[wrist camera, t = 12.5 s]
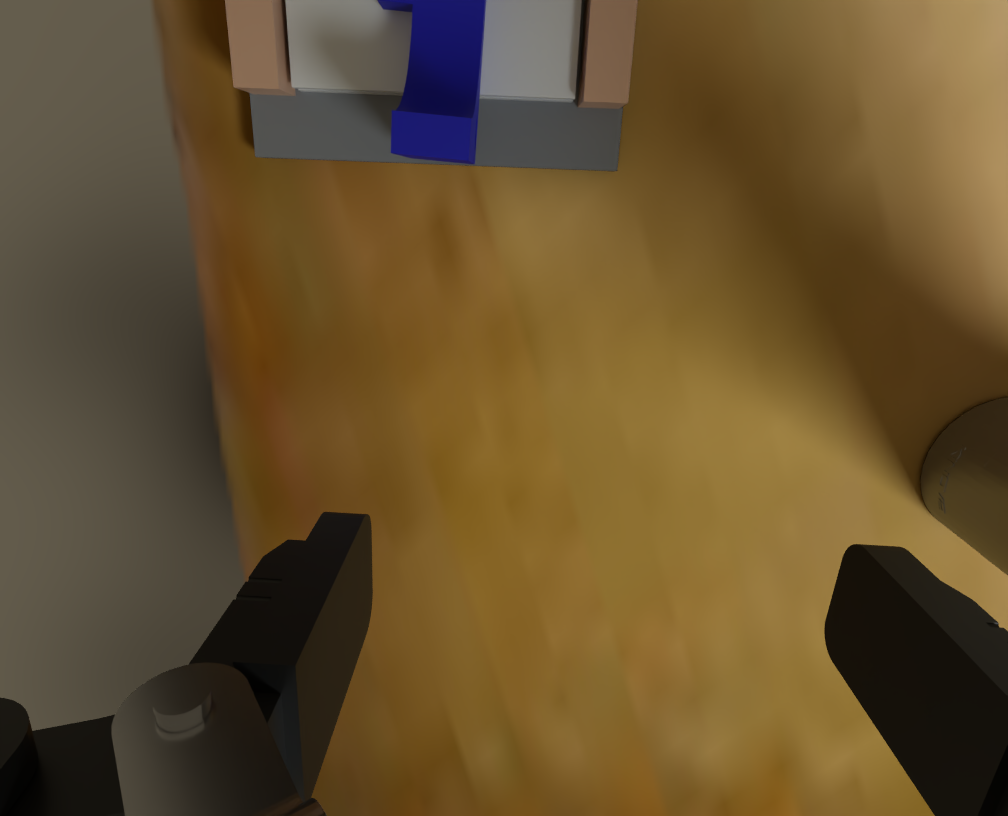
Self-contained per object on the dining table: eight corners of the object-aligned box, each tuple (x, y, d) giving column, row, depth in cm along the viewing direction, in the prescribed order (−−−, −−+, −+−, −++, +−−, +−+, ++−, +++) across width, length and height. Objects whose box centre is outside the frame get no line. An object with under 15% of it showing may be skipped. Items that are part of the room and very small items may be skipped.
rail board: (638, -113, 28) (656, -152, 25) (612, 171, 32) (626, 169, 29) (238, -131, 28) (202, -173, 25) (264, 157, 32) (236, 155, 29)
